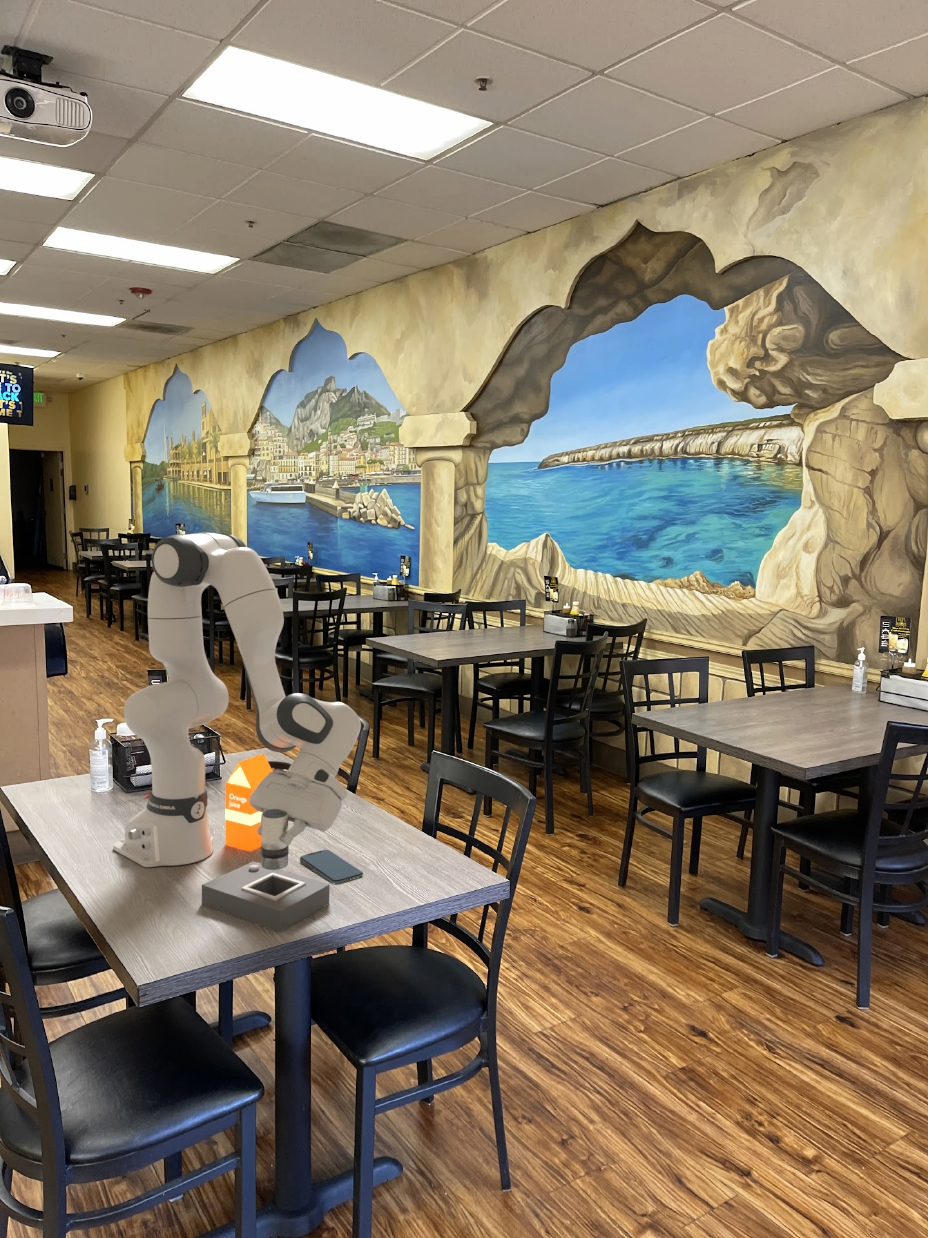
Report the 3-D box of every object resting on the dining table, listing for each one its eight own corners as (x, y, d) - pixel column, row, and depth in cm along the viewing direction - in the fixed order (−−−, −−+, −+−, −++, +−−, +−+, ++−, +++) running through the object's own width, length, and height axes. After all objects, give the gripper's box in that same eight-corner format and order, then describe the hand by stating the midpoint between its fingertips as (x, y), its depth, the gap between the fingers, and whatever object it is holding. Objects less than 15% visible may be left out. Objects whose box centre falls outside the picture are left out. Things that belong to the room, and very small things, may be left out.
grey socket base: (201, 904, 166) (201, 882, 166) (253, 879, 179) (253, 858, 178) (280, 932, 157) (280, 908, 156) (329, 904, 169) (329, 881, 168)
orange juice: (224, 844, 197) (225, 759, 194) (251, 833, 205) (251, 751, 202) (251, 852, 193) (251, 765, 191) (276, 839, 201) (277, 756, 199)
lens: (255, 866, 165) (255, 814, 163) (273, 857, 169) (274, 806, 168) (275, 872, 162) (275, 819, 161) (294, 863, 166) (294, 811, 165)
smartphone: (334, 881, 177) (298, 856, 189) (334, 889, 178) (297, 863, 189) (365, 872, 182) (327, 848, 194) (364, 880, 183) (327, 855, 194)
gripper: (265, 759, 175) (227, 818, 168) (339, 778, 164) (301, 843, 157) (281, 775, 179) (245, 834, 172) (354, 795, 168) (318, 859, 161)
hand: (272, 838), depth 164 cm, fingers closed on lens, 5 cm apart
